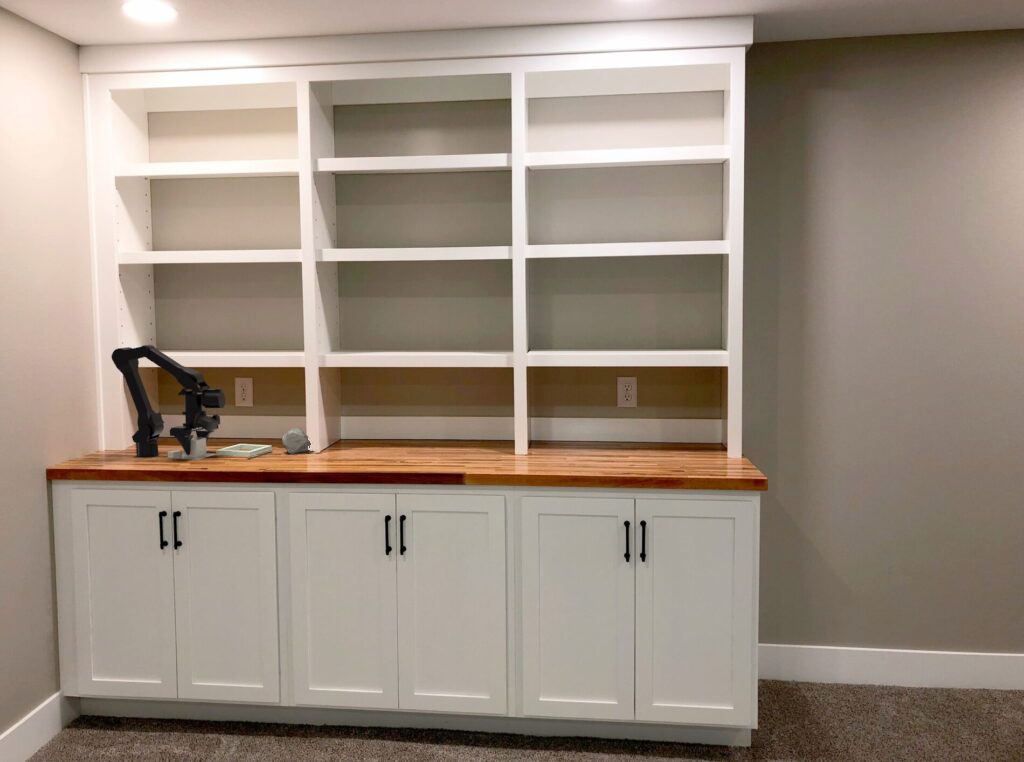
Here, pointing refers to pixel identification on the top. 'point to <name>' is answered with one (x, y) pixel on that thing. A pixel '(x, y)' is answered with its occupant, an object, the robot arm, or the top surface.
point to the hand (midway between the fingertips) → (195, 452)
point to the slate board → (179, 455)
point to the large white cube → (197, 447)
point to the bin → (254, 451)
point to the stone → (296, 441)
